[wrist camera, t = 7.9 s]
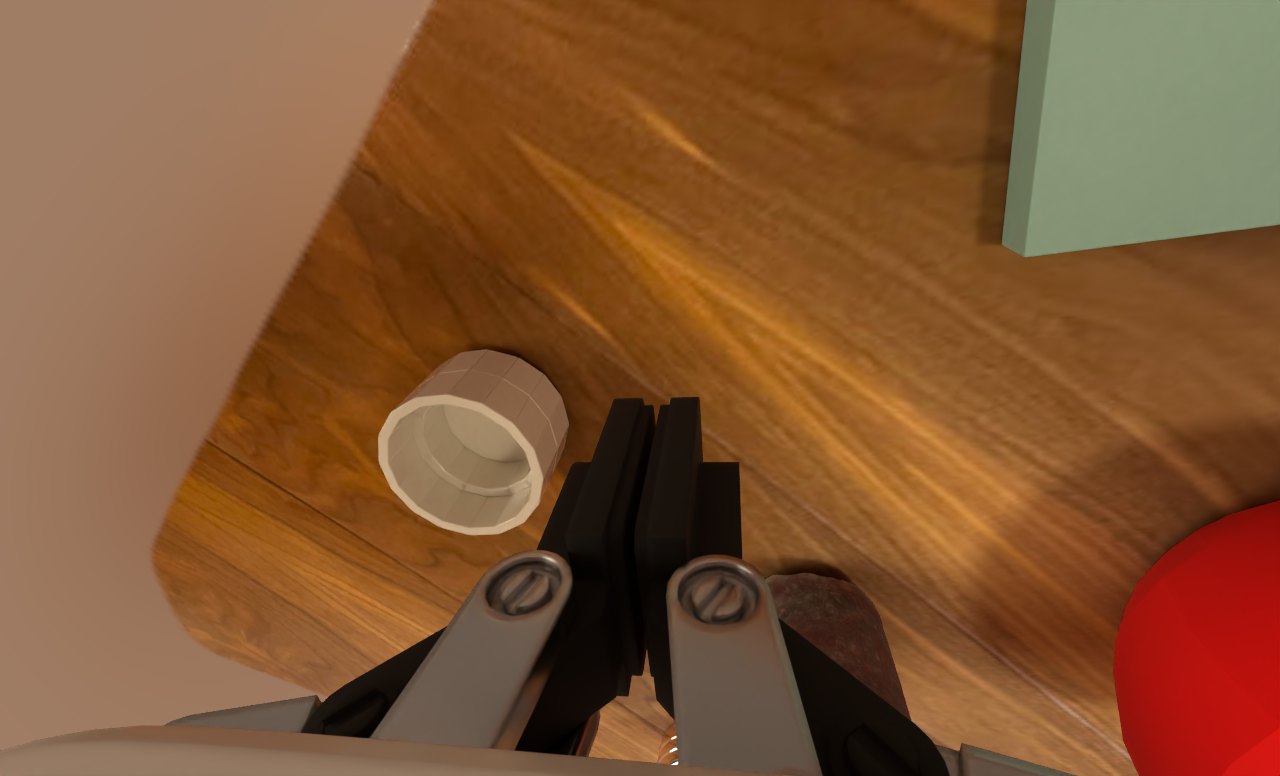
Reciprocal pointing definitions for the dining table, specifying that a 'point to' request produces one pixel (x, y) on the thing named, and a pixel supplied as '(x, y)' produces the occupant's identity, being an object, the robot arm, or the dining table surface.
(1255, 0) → the scale
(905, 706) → the candle
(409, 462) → the bowl
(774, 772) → the robot arm
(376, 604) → the dining table surface
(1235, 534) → the vase
